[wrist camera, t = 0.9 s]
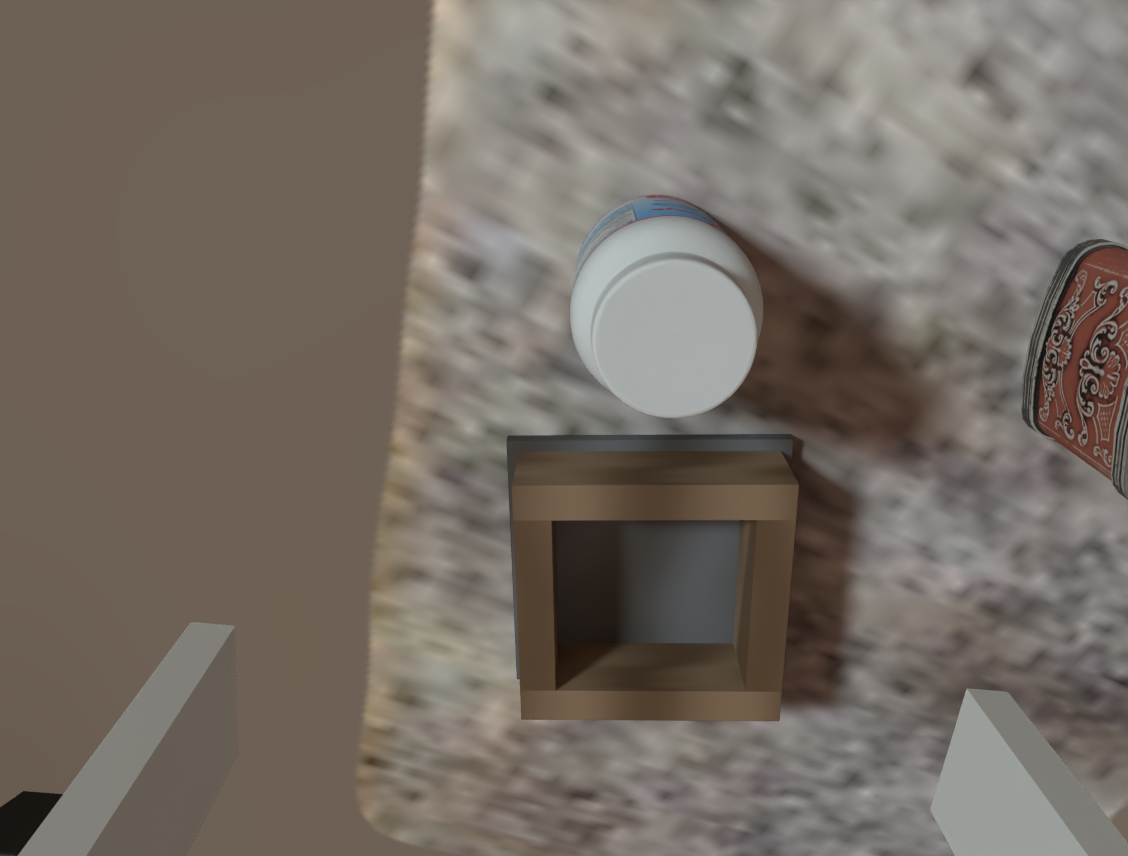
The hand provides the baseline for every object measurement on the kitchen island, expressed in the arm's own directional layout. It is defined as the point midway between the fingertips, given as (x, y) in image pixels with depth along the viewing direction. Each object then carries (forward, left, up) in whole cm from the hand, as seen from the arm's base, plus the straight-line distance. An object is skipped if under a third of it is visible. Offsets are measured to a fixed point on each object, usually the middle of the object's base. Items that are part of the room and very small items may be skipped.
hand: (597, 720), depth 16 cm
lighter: (-19, -1, -22) cm, 29 cm away
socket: (-2, +9, -22) cm, 24 cm away
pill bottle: (-2, -4, -22) cm, 23 cm away
